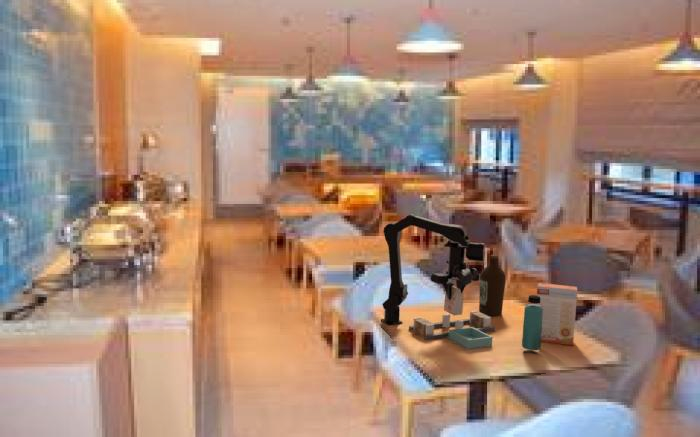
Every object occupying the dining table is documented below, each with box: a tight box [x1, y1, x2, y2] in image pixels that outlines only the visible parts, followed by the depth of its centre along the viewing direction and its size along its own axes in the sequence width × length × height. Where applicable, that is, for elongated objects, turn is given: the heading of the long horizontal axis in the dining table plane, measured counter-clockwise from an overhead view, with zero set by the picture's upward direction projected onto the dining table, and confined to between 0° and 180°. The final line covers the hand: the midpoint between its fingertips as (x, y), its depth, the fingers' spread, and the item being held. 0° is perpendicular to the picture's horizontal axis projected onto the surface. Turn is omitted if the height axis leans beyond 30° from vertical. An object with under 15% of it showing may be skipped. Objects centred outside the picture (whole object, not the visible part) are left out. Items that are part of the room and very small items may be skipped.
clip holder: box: [408, 310, 496, 341], centre depth 242 cm, size 13×31×5 cm, turn 116°
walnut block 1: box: [413, 318, 434, 338], centre depth 236 cm, size 6×4×5 cm, turn 26°
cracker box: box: [535, 282, 578, 346], centre depth 233 cm, size 14×6×21 cm, turn 71°
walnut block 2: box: [470, 311, 490, 328], centre depth 248 cm, size 6×4×5 cm, turn 26°
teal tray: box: [447, 326, 493, 351], centre depth 229 cm, size 12×10×4 cm
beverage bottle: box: [521, 294, 543, 351], centre depth 221 cm, size 6×7×20 cm
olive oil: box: [478, 254, 507, 317], centre depth 266 cm, size 11×11×25 cm
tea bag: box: [443, 285, 464, 316], centre depth 241 cm, size 4×7×10 cm, turn 26°
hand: (454, 299), depth 241 cm, fingers closed on tea bag, 4 cm apart
